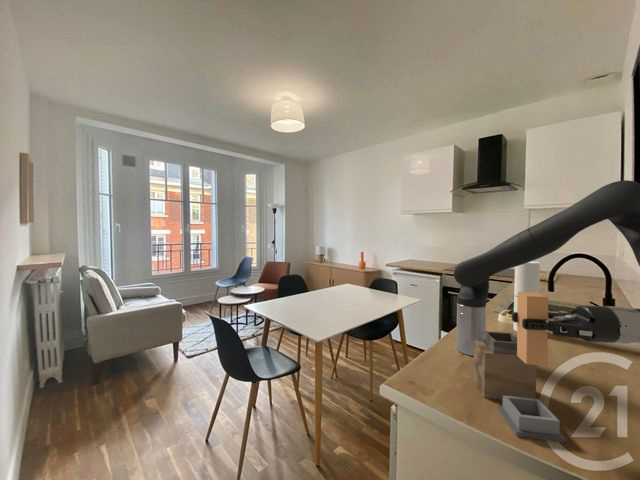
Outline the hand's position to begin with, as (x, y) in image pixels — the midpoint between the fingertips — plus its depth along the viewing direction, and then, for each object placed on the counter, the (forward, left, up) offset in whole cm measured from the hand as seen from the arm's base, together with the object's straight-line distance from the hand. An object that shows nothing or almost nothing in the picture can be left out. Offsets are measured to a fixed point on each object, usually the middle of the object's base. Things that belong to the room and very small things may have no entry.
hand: (518, 320), depth 61 cm
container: (-63, +33, -24) cm, 75 cm away
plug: (0, +3, -9) cm, 9 cm away
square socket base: (-13, +3, -24) cm, 27 cm away
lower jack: (0, +3, -24) cm, 24 cm away
